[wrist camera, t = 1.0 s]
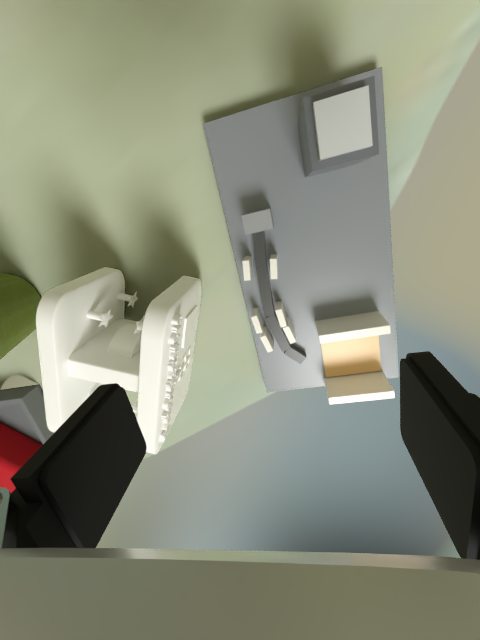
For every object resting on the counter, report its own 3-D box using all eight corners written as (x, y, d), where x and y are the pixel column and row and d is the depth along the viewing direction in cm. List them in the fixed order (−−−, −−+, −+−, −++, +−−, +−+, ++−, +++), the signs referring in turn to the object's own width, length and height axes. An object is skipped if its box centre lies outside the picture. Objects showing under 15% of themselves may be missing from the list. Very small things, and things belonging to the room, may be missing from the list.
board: (206, 126, 26) (191, 112, 22) (377, 73, 23) (398, 44, 19) (267, 386, 35) (265, 412, 31) (394, 371, 32) (411, 397, 28)
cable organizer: (113, 254, 32) (27, 283, 21) (210, 274, 31) (172, 315, 21) (112, 371, 38) (45, 441, 27) (194, 391, 37) (158, 469, 27)
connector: (297, 123, 24) (303, 94, 17) (349, 108, 23) (377, 71, 16) (305, 177, 25) (313, 170, 19) (354, 164, 25) (382, 152, 18)
